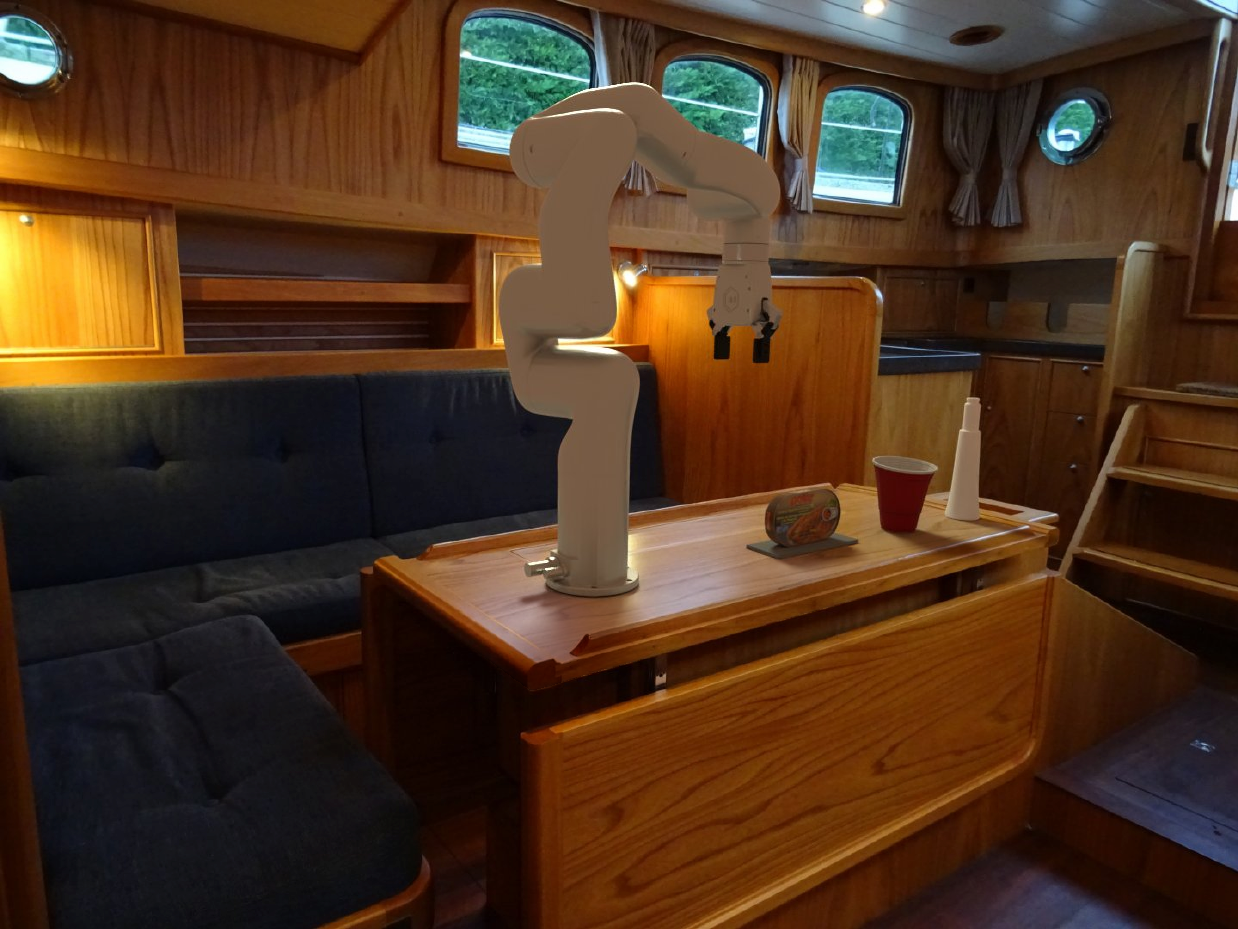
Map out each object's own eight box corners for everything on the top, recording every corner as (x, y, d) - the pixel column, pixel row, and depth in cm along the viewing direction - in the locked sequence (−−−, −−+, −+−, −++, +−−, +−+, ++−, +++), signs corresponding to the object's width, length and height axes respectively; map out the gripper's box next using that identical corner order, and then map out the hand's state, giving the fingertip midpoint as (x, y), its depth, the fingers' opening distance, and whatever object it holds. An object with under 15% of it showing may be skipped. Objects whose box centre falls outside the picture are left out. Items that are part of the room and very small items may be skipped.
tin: (773, 550, 131) (776, 497, 129) (759, 545, 133) (762, 493, 132) (840, 537, 139) (844, 487, 138) (826, 533, 142) (829, 483, 140)
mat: (778, 558, 128) (778, 555, 128) (746, 547, 134) (746, 544, 134) (858, 542, 138) (858, 539, 138) (825, 532, 144) (825, 529, 144)
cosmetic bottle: (941, 517, 156) (952, 398, 152) (947, 511, 161) (958, 395, 157) (977, 522, 153) (989, 400, 149) (981, 515, 158) (993, 397, 154)
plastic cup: (907, 541, 140) (913, 469, 138) (853, 527, 148) (858, 459, 146) (945, 532, 146) (951, 463, 144) (892, 518, 155) (897, 453, 152)
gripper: (694, 257, 145) (690, 358, 148) (765, 253, 131) (760, 365, 134) (727, 259, 149) (723, 357, 152) (800, 255, 135) (794, 364, 138)
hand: (740, 361), depth 143 cm, fingers open, 9 cm apart
